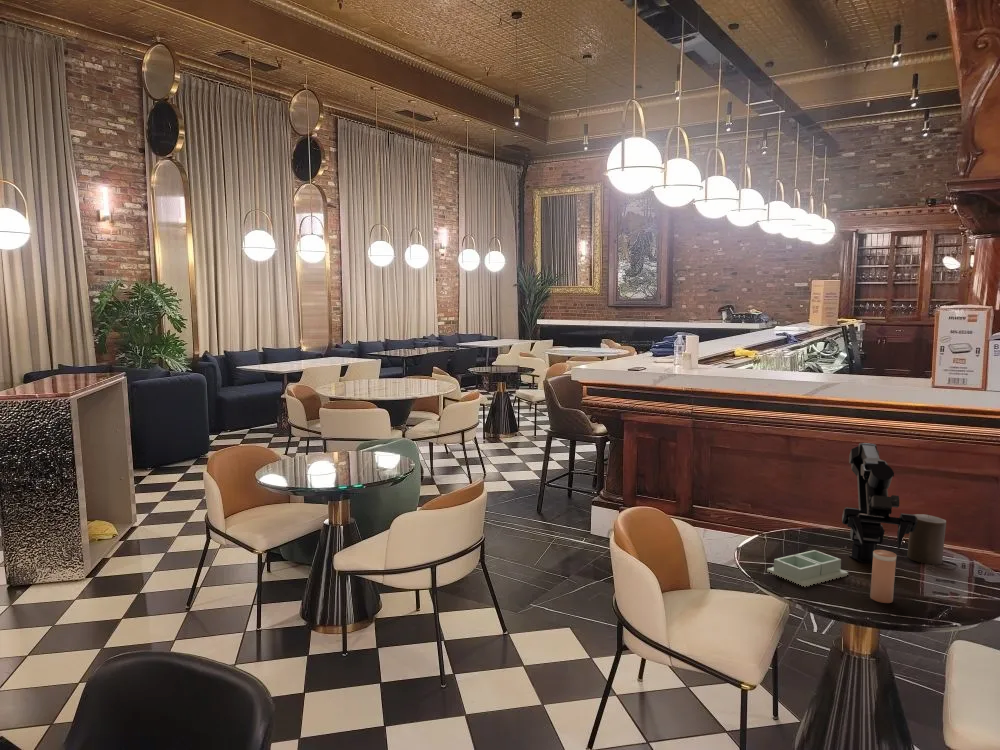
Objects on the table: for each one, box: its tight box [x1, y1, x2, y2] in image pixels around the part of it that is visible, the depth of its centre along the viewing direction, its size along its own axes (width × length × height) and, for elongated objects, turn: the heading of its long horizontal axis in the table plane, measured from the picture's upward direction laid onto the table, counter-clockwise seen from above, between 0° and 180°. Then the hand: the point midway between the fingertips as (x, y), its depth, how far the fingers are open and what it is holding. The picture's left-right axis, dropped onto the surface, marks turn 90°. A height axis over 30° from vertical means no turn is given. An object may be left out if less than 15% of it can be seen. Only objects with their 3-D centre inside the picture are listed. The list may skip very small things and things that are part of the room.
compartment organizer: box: [766, 549, 849, 588], centre depth 208 cm, size 20×13×4 cm, turn 120°
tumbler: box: [869, 549, 898, 604], centre depth 190 cm, size 6×6×13 cm
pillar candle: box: [906, 513, 947, 566], centre depth 222 cm, size 10×10×15 cm
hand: (880, 545), depth 196 cm, fingers open, 9 cm apart
